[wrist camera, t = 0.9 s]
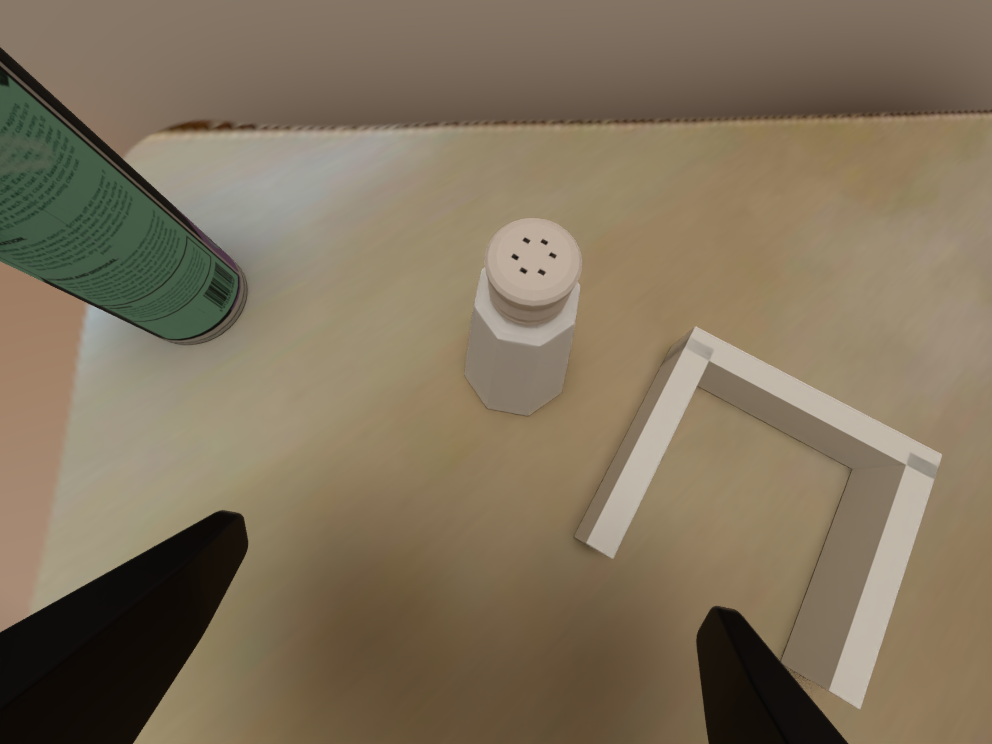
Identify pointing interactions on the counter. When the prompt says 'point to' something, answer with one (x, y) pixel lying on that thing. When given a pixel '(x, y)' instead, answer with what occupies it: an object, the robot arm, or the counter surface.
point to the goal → (856, 526)
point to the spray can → (103, 224)
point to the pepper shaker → (524, 316)
